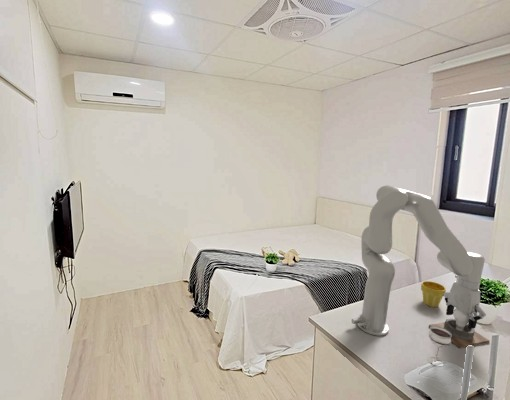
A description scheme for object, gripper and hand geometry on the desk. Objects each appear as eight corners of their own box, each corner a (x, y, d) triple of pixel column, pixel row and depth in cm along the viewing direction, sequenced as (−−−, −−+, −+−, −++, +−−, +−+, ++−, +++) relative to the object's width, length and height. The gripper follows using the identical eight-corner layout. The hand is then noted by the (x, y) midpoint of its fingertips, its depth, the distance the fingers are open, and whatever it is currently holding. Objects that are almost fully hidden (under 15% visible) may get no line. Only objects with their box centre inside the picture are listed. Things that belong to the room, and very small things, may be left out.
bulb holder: (458, 348, 113) (460, 338, 113) (428, 326, 126) (430, 318, 126) (489, 342, 118) (491, 333, 117) (457, 322, 131) (458, 314, 130)
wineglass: (439, 356, 108) (445, 326, 106) (450, 369, 101) (456, 338, 99) (421, 354, 109) (426, 325, 106) (430, 367, 102) (436, 337, 100)
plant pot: (423, 307, 142) (426, 288, 141) (415, 297, 152) (418, 279, 151) (446, 310, 141) (449, 291, 139) (437, 300, 151) (440, 282, 149)
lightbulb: (470, 338, 118) (477, 313, 116) (453, 335, 119) (459, 310, 117) (463, 329, 124) (468, 305, 122) (446, 326, 125) (452, 302, 124)
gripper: (441, 274, 125) (434, 310, 128) (482, 294, 109) (473, 335, 112) (455, 273, 127) (448, 309, 130) (497, 292, 111) (487, 333, 114)
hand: (459, 321), depth 121 cm, fingers open, 9 cm apart
